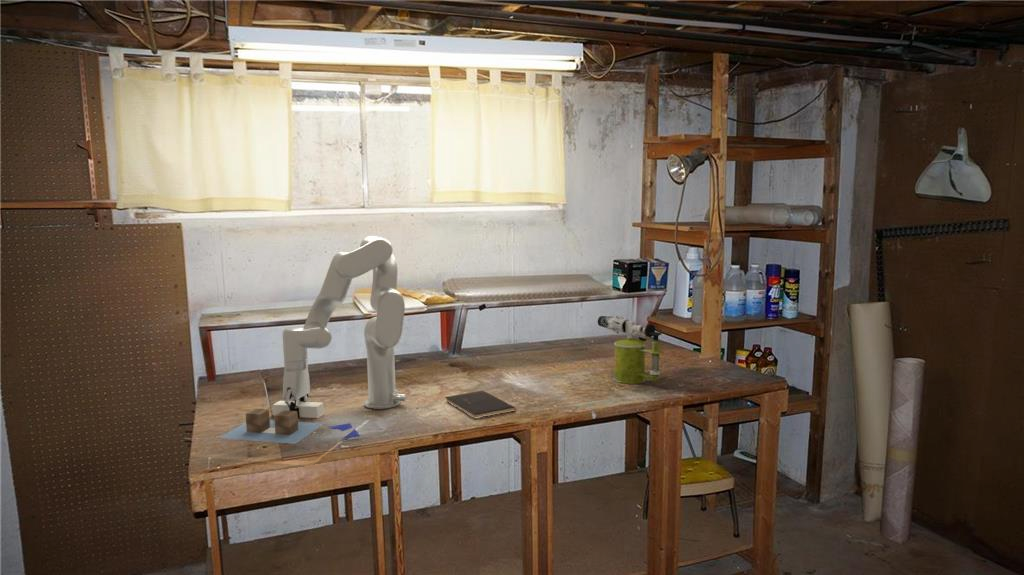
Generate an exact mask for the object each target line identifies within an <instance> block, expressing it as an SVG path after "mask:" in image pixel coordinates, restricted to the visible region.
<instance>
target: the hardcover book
mask: <svg viewBox="0 0 1024 575" xmlns="http://www.w3.org/2000/svg"><path fill="white" fill-rule="evenodd" d="M445 399H446V402H447V401H448V402H450V403H452V404H453V405H455V406H456V407H458V408H460V409H461V410H463V411H465V412H466V413H468V414H470V415H471V416H473V417H474V418H475V417H479V416H483V415H488V414H494V413H499V412H505V411H511V410H515V411H516V407H515V406H513V405H512V404H509V403H508V402H506V401H504V400H502V399H501V398H499V397H496V396H495V395H492V394H491V393H489V392H488V391H485V390H478V391H472V392H467V393H461V394H456V395H450V396H449V395H448V396H445ZM448 402H447V403H448ZM450 403H449V404H450ZM453 405H452V406H453ZM455 406H454V407H455ZM456 407H455V408H456ZM458 408H457V409H458ZM461 410H460V411H461ZM463 411H462V412H463ZM466 413H465V414H466ZM471 416H470V417H471ZM474 418H473V419H474Z"/></svg>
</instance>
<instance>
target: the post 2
mask: <svg viewBox="0 0 1024 575" xmlns="http://www.w3.org/2000/svg"><path fill="white" fill-rule="evenodd" d="M273 417H274V420H275V434H282V435H291V434H292V433H294V432H295V431H297V430H298V422H299V418H298V414H297V411H285V410H283V411H281V412H279V413H278V414H276V415H274V414H273Z"/></svg>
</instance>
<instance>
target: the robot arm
mask: <svg viewBox="0 0 1024 575" xmlns="http://www.w3.org/2000/svg"><path fill="white" fill-rule="evenodd" d="M393 253H394V252H393V245H392V243H391V242H390V241H389V240H388V239H385V238H383V237H379V236H374V235H369V236H367V237H364V238H363V239H362V240H361V242H360V246H359V248H357V249H354V250H352V251H350V252H348V251H339V252H337V253H335V255H334V256H333V257H332V259H331V261H330V264H329V267H328V269H327V272H326V276H325V278H324V281H323V283H322V285H321V289H320V291H319V294H318V295H317V296H316V299H315V300H314V302H313V304H312V306H311V308H310V310H309V311H308V312H309V313H308V315H307V317H306V320H305V323H304V326H303V327H301V326H291V327H287V328H285V329H283V331H282V345H283V346H282V347H283V348H282V349H283V366H284V371H283V379H282V397H283V400H284V401H285V403H286V404H287V405H288V408H289V409H290V411H297V414H298V419H299V418H300V417H299V408H298V402H309V401H308V397H309V394H310V392H311V383H310V382H311V381H310V373H309V363H308V360H309V359H308V358H309V357H308V349H311V350H313V349H314V350H318V349H319V350H320V349H324V348H325V349H326V348H327V346H329V345H330V344H331V341H332V338H333V337H332V336H333V335H332V333H331V331H330V330H329V329H328V328H327V327H328V325H329V322H330V319H331V316H332V315H333V313H334V312H335V310H336V309H337V308H338V307H340V306H341V305H342V304H343V303H344V302H345V300H346V298H347V294H348V291H349V289H350V286H351V284H352V280H353V279H355V278H356V279H357V278H358V277H360V276H362V275H364V274H366V273H368V272H370V271H372V283H371V291H370V301H369V303H370V306H371V308H372V310H373V311H375V312H376V316H373V317H372V318H370V319H368V321H367V322H366V324H365V326H364V332H363V333H364V334H363V335H364V342H365V348H366V366H367V385H368V386H367V388H368V389H367V390H368V398H367V399H366V400H364V406H365V407H366V408H368V409H372V408H373V410H374V409H375V410H383V409H385V410H386V409H390V408H395V407H397V406H399V405H400V404H401V402H406V401H407V395H406V394H400V393H399V390H398V389H396V371H395V369H396V367H395V361H396V360H395V348H394V347H396V346H397V345H398V344H399V342H400V341H401V339H402V335H403V328H404V318H405V308H406V307H405V306H406V305H405V304H406V303H405V300H404V297H403V295H402V294H401V292H399V291H398V290H397V289H398V287H397V286H398V272H399V271H398V264H397V260H396V258H395V256H394V254H393ZM292 401H295V404H294V403H293V402H292Z"/></svg>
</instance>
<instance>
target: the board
mask: <svg viewBox="0 0 1024 575" xmlns="http://www.w3.org/2000/svg"><path fill="white" fill-rule="evenodd" d="M323 425H325V423H318V422H317V423H316V422H303V421H301V422H300V421H298V430H297V431H295V432H294V433H292V434H291V435H282V434H275V419H274V420H272V419H270V428H268V429H267V430H265V431H263V432H262V433H255V432H247V427H246V422H244V423H242V424H241V425H240V426H237V427H235V428H233V429H231V430H230V431H228V432H227V433H225V434H223V435H221V436H219V437H218V439H224V440H236V441H237V440H239V441H251V442H264V443H276V444H277V443H278V444H289V445H295V444H297V443H298V442H301V440H303V439H304V438H306V437H307V436H309V435H310V434H312V433H313V432H315V431H316V430H317V429H319V428H321V427H322V426H323Z"/></svg>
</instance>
